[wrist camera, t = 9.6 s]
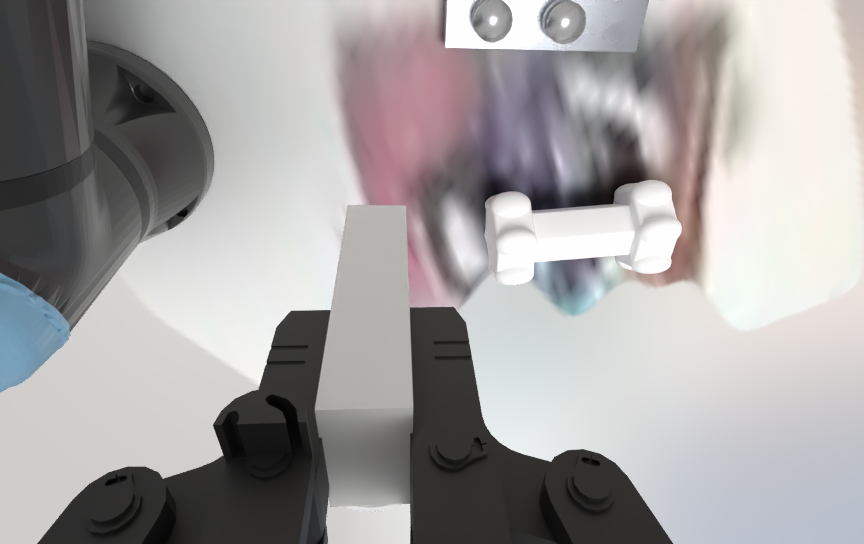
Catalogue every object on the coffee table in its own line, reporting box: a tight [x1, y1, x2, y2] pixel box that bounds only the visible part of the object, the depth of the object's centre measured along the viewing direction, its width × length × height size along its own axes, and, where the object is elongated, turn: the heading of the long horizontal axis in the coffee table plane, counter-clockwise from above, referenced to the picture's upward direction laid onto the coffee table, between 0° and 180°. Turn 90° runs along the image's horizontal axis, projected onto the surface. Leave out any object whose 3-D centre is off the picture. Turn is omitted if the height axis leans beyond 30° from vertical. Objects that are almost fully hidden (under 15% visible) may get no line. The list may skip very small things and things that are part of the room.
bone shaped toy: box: [484, 180, 682, 285], centre depth 43 cm, size 15×9×8 cm, turn 93°
